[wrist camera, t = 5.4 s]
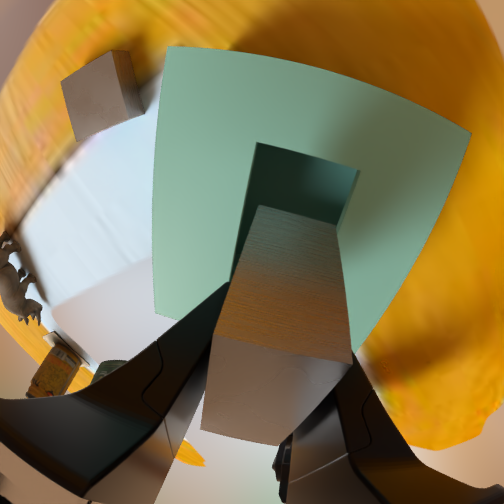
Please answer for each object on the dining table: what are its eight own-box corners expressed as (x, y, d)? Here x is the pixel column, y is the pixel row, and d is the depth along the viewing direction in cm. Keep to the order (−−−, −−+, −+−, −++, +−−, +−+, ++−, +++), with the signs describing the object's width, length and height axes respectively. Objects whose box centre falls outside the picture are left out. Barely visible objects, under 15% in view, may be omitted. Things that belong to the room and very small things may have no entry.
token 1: (147, 113, 17) (128, 118, 15) (96, 133, 18) (76, 141, 16) (131, 51, 15) (111, 50, 13) (81, 78, 16) (60, 81, 14)
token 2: (291, 330, 11) (277, 445, 7) (233, 316, 11) (200, 429, 7) (335, 224, 9) (352, 364, 4) (258, 204, 9) (213, 333, 4)
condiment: (74, 367, 43) (46, 416, 33) (42, 336, 39) (10, 384, 29) (90, 364, 40) (60, 420, 30) (55, 330, 36) (17, 385, 26)
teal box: (342, 284, 22) (349, 361, 16) (193, 246, 22) (155, 313, 16) (411, 110, 14) (471, 133, 8) (220, 58, 14) (167, 46, 8)
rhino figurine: (41, 309, 34) (20, 336, 29) (1, 230, 27) (-28, 255, 22) (56, 313, 33) (35, 342, 28) (14, 229, 26) (-18, 256, 21)
